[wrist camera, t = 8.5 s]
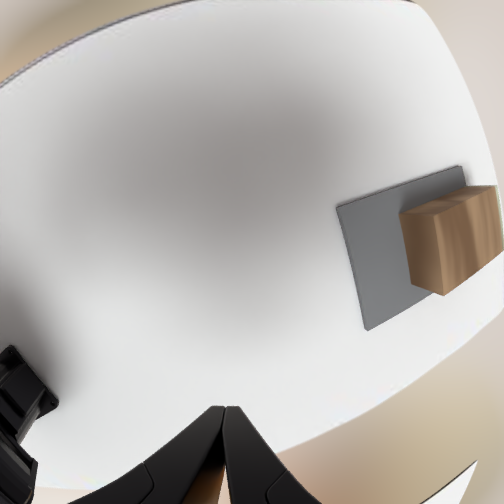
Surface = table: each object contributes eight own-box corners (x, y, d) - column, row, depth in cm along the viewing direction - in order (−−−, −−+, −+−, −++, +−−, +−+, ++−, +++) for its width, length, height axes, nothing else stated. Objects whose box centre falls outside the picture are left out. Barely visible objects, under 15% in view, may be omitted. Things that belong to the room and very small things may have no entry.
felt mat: (364, 328, 22) (367, 331, 21) (335, 207, 20) (339, 207, 19) (473, 261, 24) (476, 262, 23) (458, 166, 22) (461, 165, 21)
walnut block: (443, 296, 18) (504, 249, 19) (433, 216, 16) (497, 185, 18) (411, 284, 21) (475, 244, 23) (398, 214, 20) (466, 186, 22)
